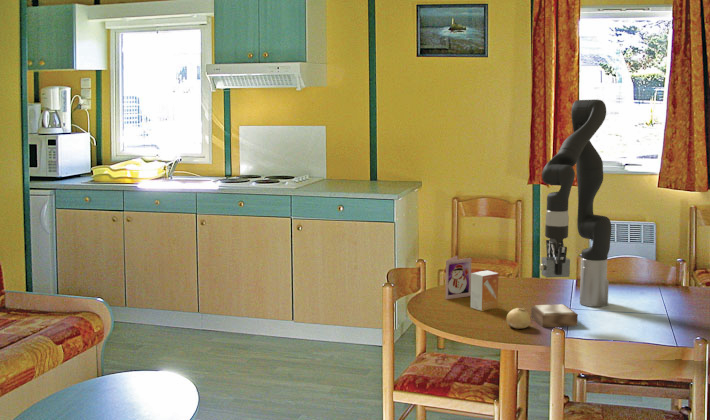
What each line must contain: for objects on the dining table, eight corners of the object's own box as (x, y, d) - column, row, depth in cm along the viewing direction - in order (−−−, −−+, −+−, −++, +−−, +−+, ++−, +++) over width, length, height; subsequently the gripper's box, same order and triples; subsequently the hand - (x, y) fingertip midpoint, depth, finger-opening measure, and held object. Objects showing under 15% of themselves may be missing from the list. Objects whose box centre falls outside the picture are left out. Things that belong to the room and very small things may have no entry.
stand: (564, 315, 281) (564, 303, 280) (577, 325, 269) (577, 312, 269) (531, 317, 280) (531, 304, 279) (542, 327, 268) (542, 314, 267)
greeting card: (446, 299, 304) (447, 261, 301) (436, 295, 310) (436, 257, 308) (472, 296, 308) (472, 258, 306) (461, 292, 315) (462, 254, 313)
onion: (507, 330, 265) (508, 309, 264) (504, 323, 273) (505, 303, 272) (532, 330, 264) (532, 310, 263) (528, 323, 272) (529, 303, 271)
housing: (564, 273, 275) (564, 256, 274) (569, 276, 270) (570, 259, 269) (538, 274, 274) (538, 257, 273) (543, 277, 269) (543, 260, 268)
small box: (481, 311, 288) (482, 276, 286) (470, 307, 293) (470, 272, 291) (498, 307, 292) (499, 273, 290) (486, 304, 297) (487, 269, 295)
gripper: (575, 226, 263) (574, 277, 265) (560, 219, 277) (558, 267, 279) (553, 227, 262) (552, 278, 265) (539, 220, 276) (537, 268, 279)
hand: (555, 272), depth 272 cm, fingers closed on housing, 5 cm apart
